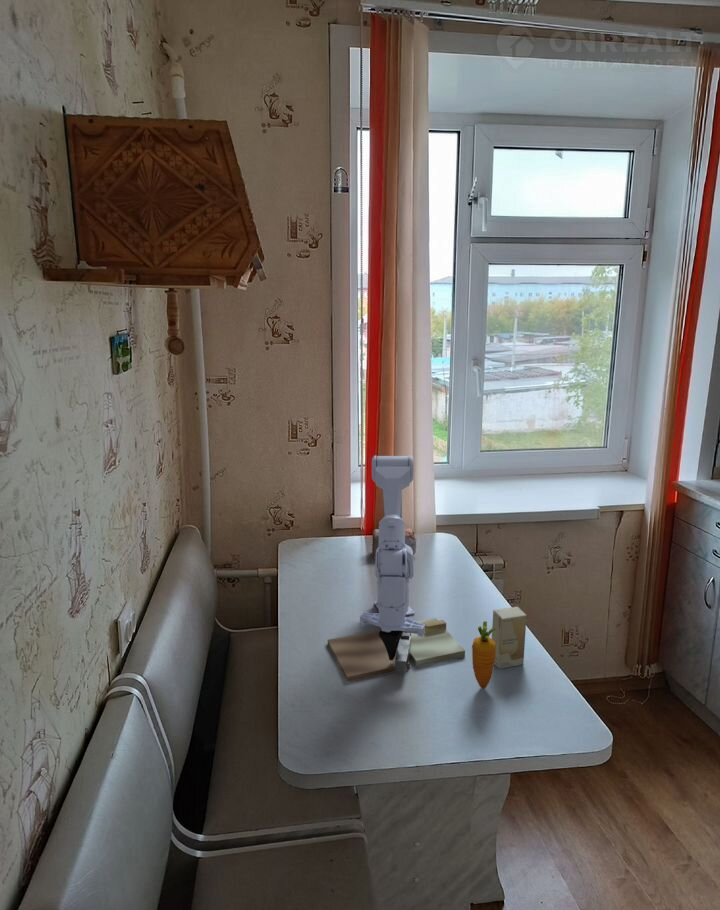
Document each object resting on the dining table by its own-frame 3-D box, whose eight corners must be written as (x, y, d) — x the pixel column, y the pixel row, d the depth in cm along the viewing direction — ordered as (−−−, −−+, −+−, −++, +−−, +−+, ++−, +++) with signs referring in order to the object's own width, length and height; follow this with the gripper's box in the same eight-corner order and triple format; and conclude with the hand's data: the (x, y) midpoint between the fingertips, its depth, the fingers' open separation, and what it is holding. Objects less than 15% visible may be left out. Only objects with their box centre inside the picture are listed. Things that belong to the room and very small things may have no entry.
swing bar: (400, 636, 148) (400, 623, 147) (414, 637, 148) (414, 624, 147) (393, 670, 135) (393, 656, 134) (408, 671, 134) (408, 657, 133)
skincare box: (499, 669, 138) (500, 619, 135) (489, 658, 142) (491, 609, 139) (525, 664, 139) (527, 614, 136) (515, 654, 143) (517, 605, 140)
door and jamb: (327, 644, 149) (327, 629, 148) (435, 623, 157) (435, 609, 156) (347, 681, 134) (346, 665, 133) (464, 656, 143) (465, 641, 142)
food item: (412, 549, 205) (412, 520, 202) (417, 558, 197) (417, 529, 194) (371, 551, 203) (370, 522, 201) (374, 561, 196) (373, 531, 193)
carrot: (478, 678, 134) (479, 615, 131) (499, 687, 131) (501, 622, 128) (466, 689, 131) (467, 624, 127) (487, 698, 128) (489, 632, 124)
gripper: (353, 603, 135) (355, 660, 138) (417, 616, 129) (417, 675, 132) (366, 590, 141) (367, 644, 144) (428, 601, 135) (428, 657, 138)
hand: (392, 658), depth 138 cm, fingers closed
